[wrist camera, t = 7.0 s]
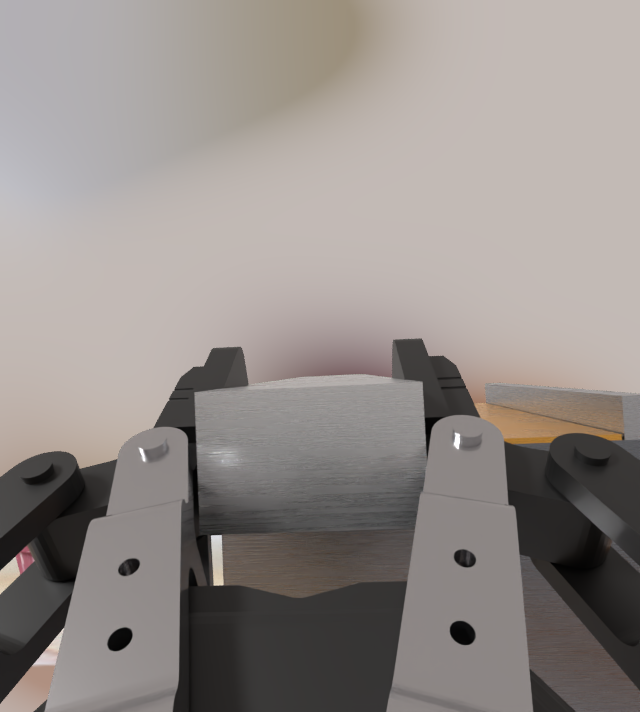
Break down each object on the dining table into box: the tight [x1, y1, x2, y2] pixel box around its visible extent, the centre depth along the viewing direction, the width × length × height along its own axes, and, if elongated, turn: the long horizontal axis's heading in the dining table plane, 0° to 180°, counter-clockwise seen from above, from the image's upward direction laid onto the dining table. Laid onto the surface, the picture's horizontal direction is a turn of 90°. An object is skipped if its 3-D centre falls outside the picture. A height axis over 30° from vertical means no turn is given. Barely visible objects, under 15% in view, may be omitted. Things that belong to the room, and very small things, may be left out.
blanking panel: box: [194, 374, 427, 536], centre depth 20 cm, size 24×4×2 cm, turn 177°
